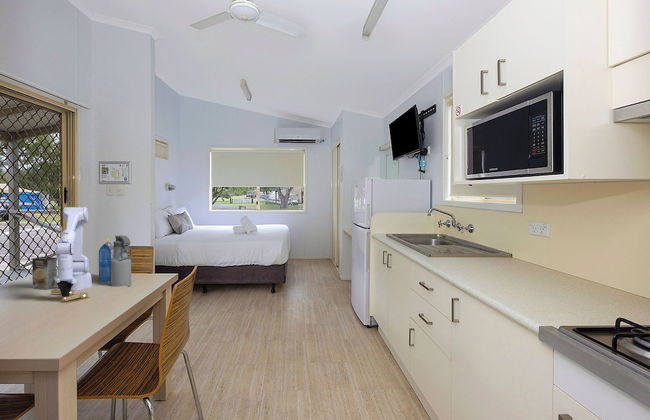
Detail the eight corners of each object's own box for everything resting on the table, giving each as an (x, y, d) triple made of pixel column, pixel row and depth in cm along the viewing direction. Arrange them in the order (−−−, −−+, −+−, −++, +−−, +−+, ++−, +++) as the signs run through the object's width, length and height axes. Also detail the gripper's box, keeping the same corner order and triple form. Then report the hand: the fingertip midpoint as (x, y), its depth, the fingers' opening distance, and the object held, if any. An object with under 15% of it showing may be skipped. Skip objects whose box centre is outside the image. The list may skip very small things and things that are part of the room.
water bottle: (135, 285, 194) (135, 235, 193) (119, 289, 185) (118, 237, 184) (123, 283, 198) (123, 234, 197) (106, 287, 189) (106, 236, 188)
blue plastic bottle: (98, 282, 200) (98, 239, 199) (102, 277, 211) (101, 236, 210) (111, 281, 202) (110, 238, 201) (114, 277, 213) (113, 236, 212)
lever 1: (76, 293, 172) (75, 288, 172) (70, 295, 168) (70, 291, 168) (54, 293, 172) (54, 288, 172) (47, 295, 168) (47, 290, 168)
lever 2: (84, 296, 168) (84, 291, 168) (89, 297, 167) (89, 292, 167) (59, 302, 159) (59, 297, 158) (65, 303, 157) (65, 298, 157)
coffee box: (31, 288, 185) (31, 258, 184) (42, 285, 191) (42, 256, 191) (47, 289, 184) (46, 259, 184) (57, 286, 191) (57, 257, 190)
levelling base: (70, 295, 173) (70, 292, 173) (90, 299, 166) (90, 296, 166) (47, 300, 164) (47, 297, 164) (67, 305, 157) (67, 302, 157)
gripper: (46, 268, 162) (47, 296, 162) (65, 271, 156) (65, 301, 156) (63, 265, 168) (63, 293, 169) (81, 268, 162) (81, 297, 163)
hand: (65, 296), depth 163 cm, fingers closed
